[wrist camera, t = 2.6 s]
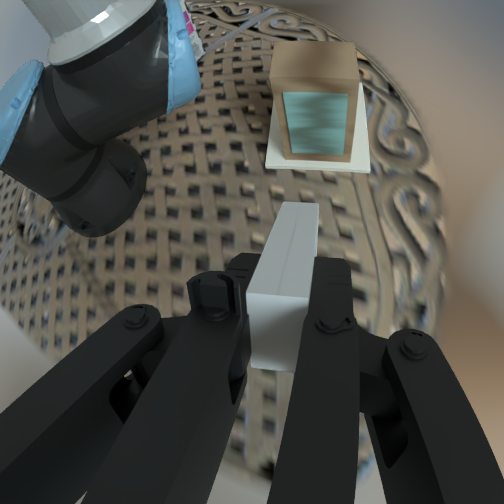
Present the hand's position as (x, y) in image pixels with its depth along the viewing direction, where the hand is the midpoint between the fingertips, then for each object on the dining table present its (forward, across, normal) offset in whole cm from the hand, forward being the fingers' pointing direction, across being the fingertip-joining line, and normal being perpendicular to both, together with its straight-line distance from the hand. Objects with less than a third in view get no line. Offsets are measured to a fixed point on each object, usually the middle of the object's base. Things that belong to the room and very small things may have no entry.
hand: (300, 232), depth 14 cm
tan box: (+29, 0, 0) cm, 29 cm away
